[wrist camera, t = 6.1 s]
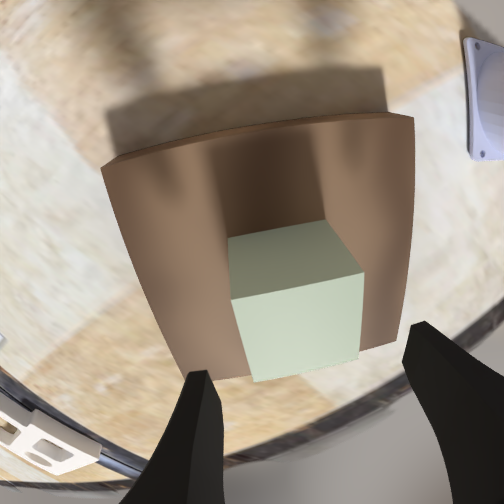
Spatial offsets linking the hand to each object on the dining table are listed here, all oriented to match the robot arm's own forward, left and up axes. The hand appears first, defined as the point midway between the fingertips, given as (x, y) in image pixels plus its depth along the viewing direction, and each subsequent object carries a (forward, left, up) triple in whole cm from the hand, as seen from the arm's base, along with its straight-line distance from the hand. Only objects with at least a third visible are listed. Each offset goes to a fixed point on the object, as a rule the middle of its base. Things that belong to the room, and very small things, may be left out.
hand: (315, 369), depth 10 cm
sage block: (0, 0, -6) cm, 6 cm away
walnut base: (0, 0, -8) cm, 8 cm away
